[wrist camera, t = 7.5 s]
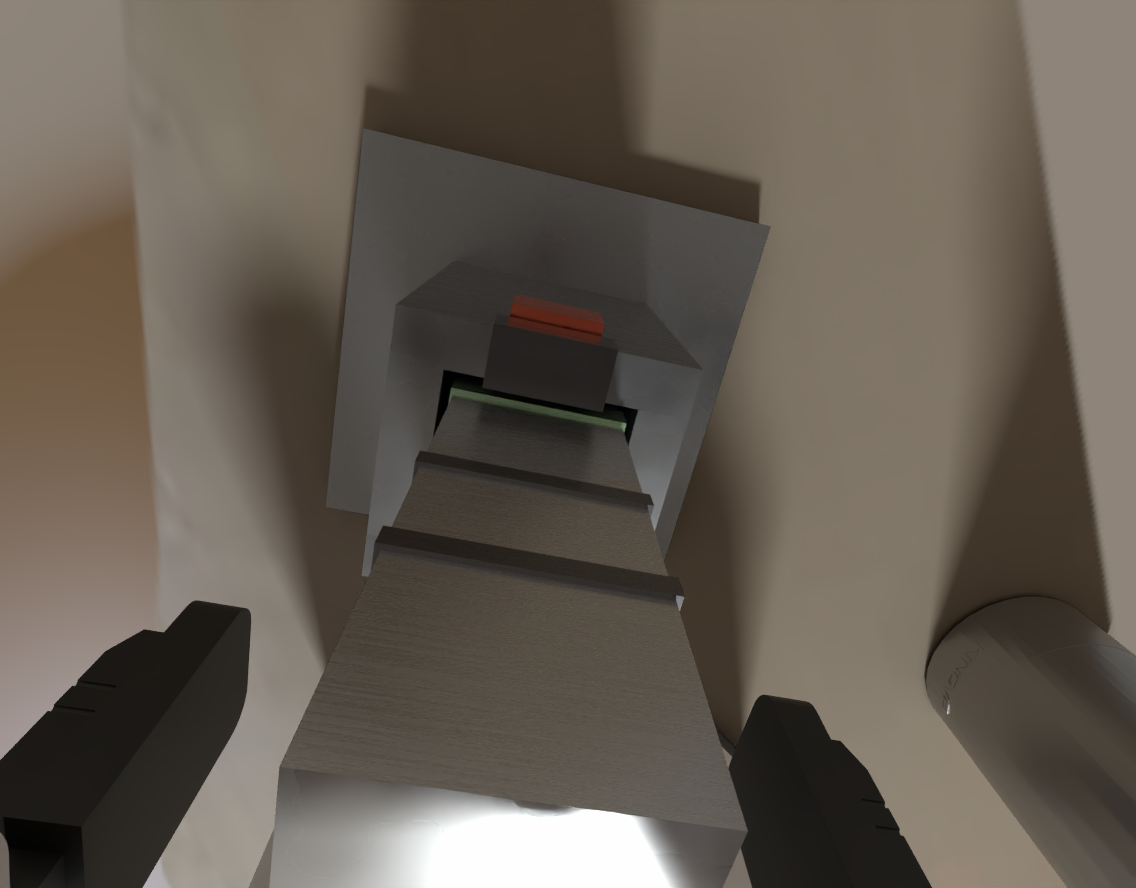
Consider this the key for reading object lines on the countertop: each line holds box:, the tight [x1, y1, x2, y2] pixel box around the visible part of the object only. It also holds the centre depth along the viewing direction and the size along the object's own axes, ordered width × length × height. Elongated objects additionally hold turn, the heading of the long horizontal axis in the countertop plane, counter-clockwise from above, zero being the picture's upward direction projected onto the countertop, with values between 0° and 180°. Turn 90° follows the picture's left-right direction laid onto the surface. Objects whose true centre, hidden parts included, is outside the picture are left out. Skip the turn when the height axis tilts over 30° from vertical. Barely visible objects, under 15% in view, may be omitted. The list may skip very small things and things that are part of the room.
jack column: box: [269, 374, 748, 888], centre depth 15 cm, size 5×5×18 cm
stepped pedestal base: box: [325, 128, 770, 577], centre depth 23 cm, size 16×16×13 cm
